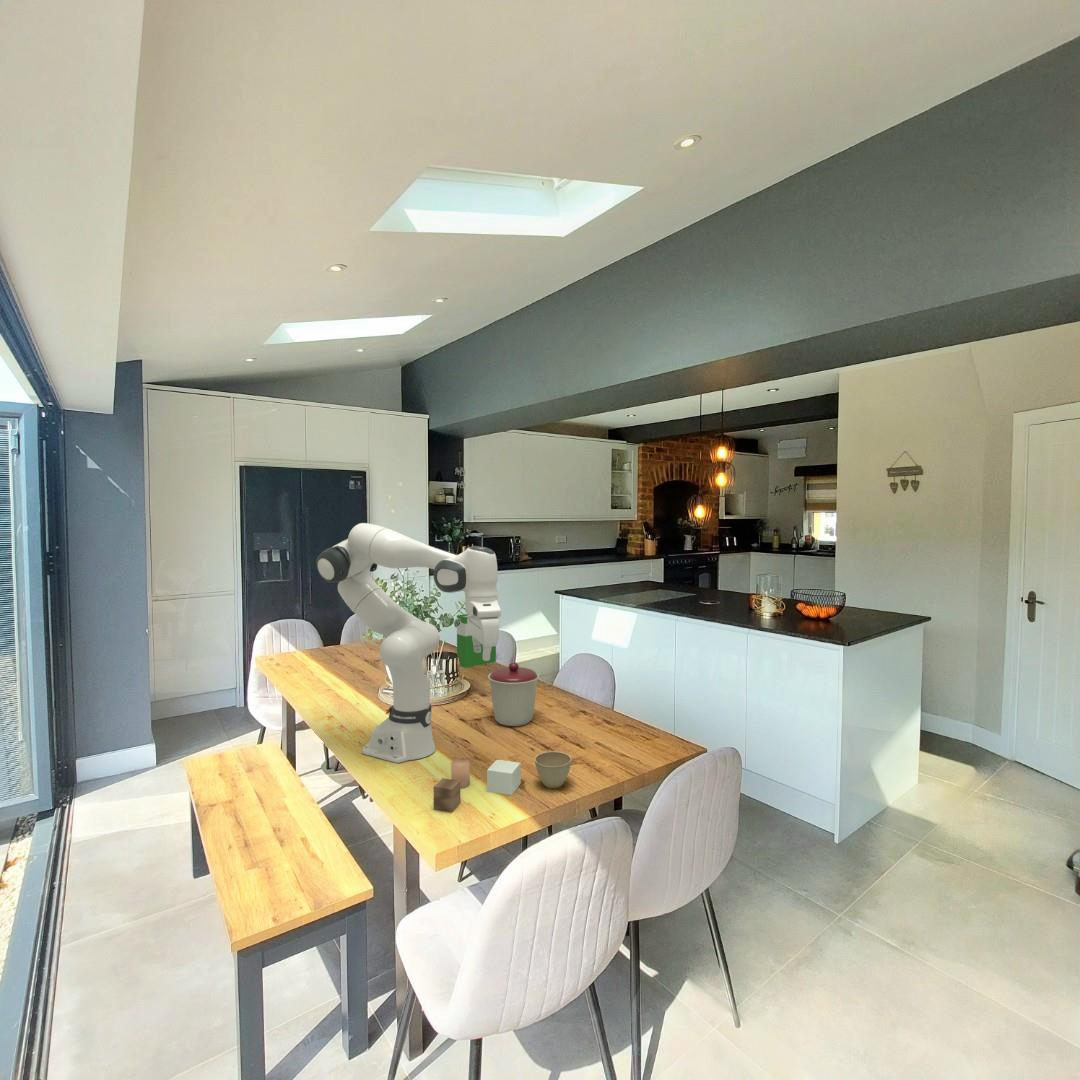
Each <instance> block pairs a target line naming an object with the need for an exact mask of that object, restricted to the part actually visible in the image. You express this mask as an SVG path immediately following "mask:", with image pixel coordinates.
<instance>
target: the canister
mask: <svg viewBox="0 0 1080 1080" xmlns="http://www.w3.org/2000/svg"><path fill="white" fill-rule="evenodd" d="M487 678H488V680H489V682H490V683H489V686H490V692H491V702H492V709H493V710H492V711H493V717H494V719H495V720H496V722H497V723H498V724H501V725H502V726H507V727H519V726H523V725H528V724H529V723H530V722H531V720H532V719H533V717H534V712H535V704H536V696H537V695H536V694H537V687H538V679H539V678H540V674H539V673H538V672H536V671H535V670H533V669H530V668H528V667H520V666H519V664H518V662H510V663H509V664H508V666H506V667H501V668H498V669H495V670H493V671H492V672H490V673H489V674H488V675H487Z"/></svg>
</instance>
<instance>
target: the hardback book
mask: <svg viewBox="0 0 1080 1080" xmlns="http://www.w3.org/2000/svg"><path fill="white" fill-rule="evenodd" d="M459 617H461V623H460V625H459V626H457V625H456V657H457V656H458V658H459V661H460V667H462V668H465V669H467V668H471V667H476V666H477V667H478V666H481V665H486V664H491V663H496V662H497V645H496V646H492V649H491V653H490V660H489V661H484V660H483V659H482V653H483V645H482V644H481V643H480V645H481V652H480V653H475V652H474V645H473V640H472V636H471V635H470V634H469V633H468V630H467V618H468V614H467V613H464V614H457V615H456V619H457V618H459Z"/></svg>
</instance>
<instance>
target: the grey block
mask: <svg viewBox="0 0 1080 1080" xmlns="http://www.w3.org/2000/svg"><path fill="white" fill-rule="evenodd" d="M521 764H522V763H521V762H518V761H510V760H503V759H496V760H495V761H494V762H493V763H492V764H491V765H490V766H489V767H488V769H487V770H486V778H487V779H486V792H488V793H494V794H500V795H505V796H506V795H507V796H513V795H514V793H515V792H516V791H517V789H518V788H519V786H521V782H522V776H521V775H522V774H521V773H522V772H521V771H522V769H521V766H522V765H521Z"/></svg>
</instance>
